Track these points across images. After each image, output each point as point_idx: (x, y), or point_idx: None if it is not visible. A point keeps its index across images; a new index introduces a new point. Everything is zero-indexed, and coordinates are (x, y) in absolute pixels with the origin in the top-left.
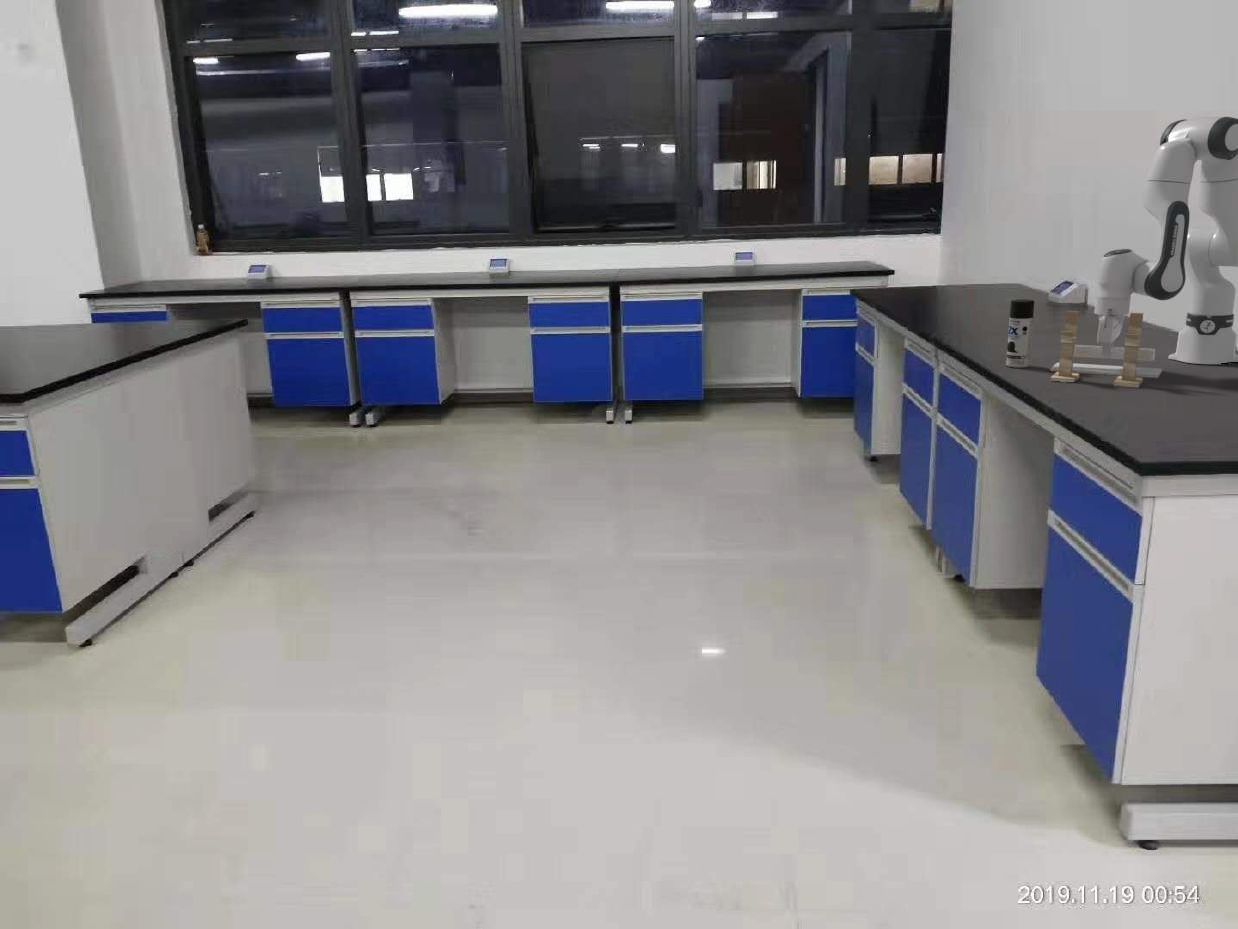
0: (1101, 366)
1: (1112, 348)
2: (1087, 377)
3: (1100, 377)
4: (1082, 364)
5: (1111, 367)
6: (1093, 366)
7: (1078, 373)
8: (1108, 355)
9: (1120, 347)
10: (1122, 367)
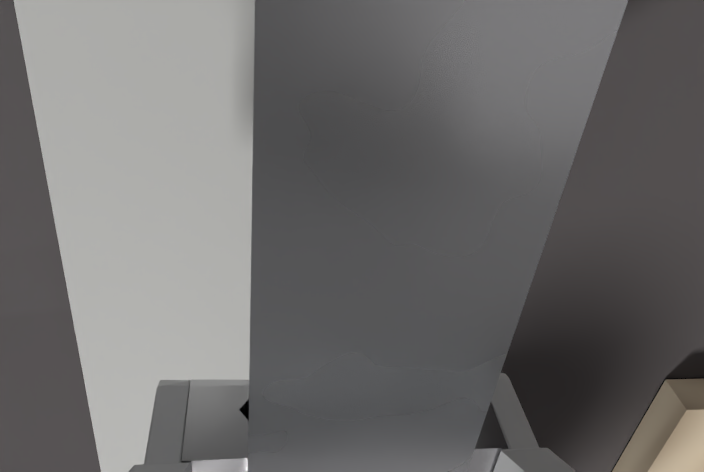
0: (172, 314)
1: (464, 461)
2: (654, 331)
3: (657, 244)
4: (132, 458)
5: (196, 217)
6: (208, 374)
7: (685, 414)
8: (511, 389)
9: (321, 379)
10: (133, 91)
